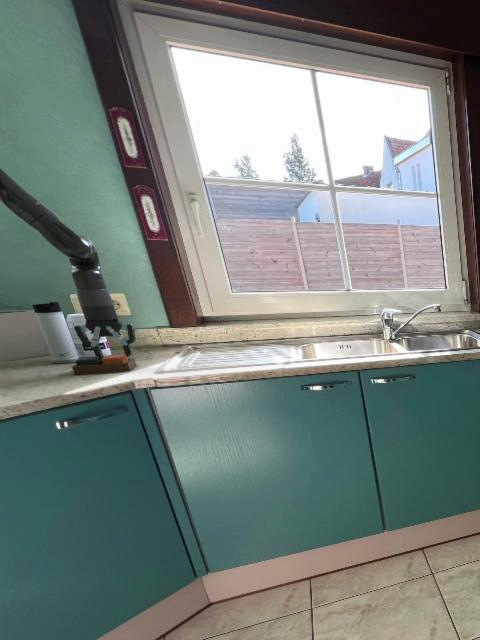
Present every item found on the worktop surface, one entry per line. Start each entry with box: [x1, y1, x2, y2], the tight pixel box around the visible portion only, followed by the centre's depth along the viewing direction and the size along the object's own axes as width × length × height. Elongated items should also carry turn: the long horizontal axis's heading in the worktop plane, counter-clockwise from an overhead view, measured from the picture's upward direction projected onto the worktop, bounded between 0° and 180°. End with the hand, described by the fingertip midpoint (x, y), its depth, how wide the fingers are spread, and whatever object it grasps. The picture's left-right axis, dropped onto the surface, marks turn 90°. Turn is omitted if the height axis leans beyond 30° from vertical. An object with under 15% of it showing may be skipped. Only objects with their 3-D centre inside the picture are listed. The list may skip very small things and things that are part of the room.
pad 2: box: [102, 354, 129, 364], centre depth 160 cm, size 5×6×4 cm
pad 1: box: [75, 357, 103, 366], centre depth 157 cm, size 5×6×4 cm
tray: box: [71, 357, 137, 376], centre depth 159 cm, size 13×9×3 cm
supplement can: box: [65, 313, 112, 358], centre depth 173 cm, size 8×8×15 cm
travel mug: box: [31, 301, 80, 365], centre depth 165 cm, size 6×7×20 cm
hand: (115, 356), depth 160 cm, fingers open, 6 cm apart
